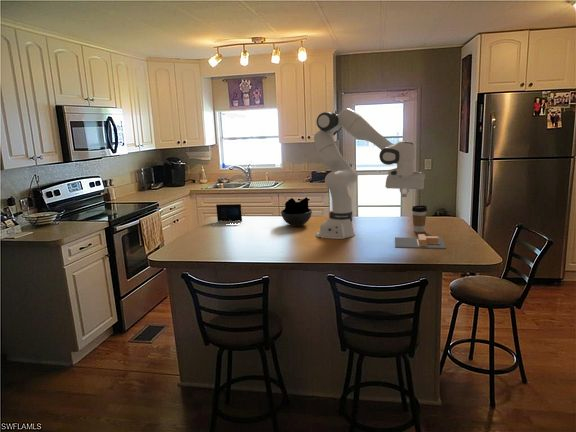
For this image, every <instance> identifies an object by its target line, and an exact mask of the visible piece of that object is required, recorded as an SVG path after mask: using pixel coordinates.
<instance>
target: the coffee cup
mask: <svg viewBox="0 0 576 432" xmlns="http://www.w3.org/2000/svg"><path fill="white" fill-rule="evenodd" d="M427 211H428V208H427V205H425V204H424V205H422V204H421V205H413V206H412V208H411V212H412V222H413V223H412V225H413V232H415V233H423V232H425V227H426V219H427Z"/></svg>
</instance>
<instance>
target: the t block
mask: <svg viewBox="0 0 576 432" xmlns="http://www.w3.org/2000/svg"><path fill="white" fill-rule="evenodd" d="M417 238H418V242H419V245H426V243H434V244H439V238H440V237H439V236H438V235H436V236H434V235H433V236H432V235H426V233H425V234H424V233H418V234H417Z"/></svg>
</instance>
